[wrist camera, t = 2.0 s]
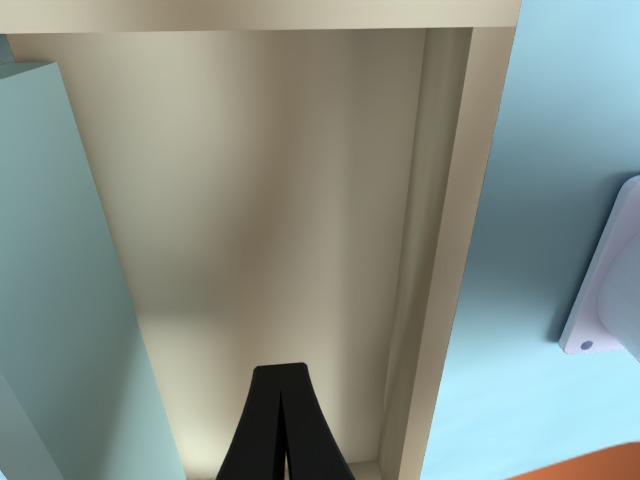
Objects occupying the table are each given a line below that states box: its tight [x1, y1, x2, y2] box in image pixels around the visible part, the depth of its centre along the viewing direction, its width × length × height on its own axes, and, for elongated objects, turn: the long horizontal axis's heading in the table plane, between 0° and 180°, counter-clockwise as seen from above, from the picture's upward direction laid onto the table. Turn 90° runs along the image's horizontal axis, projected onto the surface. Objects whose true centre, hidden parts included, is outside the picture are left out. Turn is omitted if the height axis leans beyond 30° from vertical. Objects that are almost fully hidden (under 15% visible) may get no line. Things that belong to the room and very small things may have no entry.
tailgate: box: [0, 62, 186, 480], centre depth 11 cm, size 1×16×5 cm, turn 0°
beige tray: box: [0, 0, 522, 480], centre depth 13 cm, size 10×21×4 cm, turn 0°
